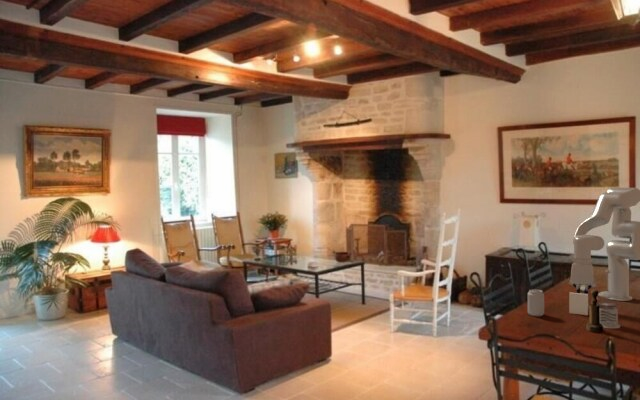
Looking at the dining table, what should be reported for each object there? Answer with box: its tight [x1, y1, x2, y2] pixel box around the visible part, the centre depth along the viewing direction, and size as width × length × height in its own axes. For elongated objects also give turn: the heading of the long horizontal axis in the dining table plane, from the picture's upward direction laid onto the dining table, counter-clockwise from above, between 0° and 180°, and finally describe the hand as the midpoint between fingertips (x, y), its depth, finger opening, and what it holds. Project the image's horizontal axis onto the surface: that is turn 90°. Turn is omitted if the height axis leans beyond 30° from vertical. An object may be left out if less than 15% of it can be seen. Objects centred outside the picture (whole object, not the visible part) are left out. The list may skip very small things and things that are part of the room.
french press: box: [590, 269, 621, 329], centre depth 228 cm, size 10×12×25 cm
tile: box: [568, 291, 589, 316], centre depth 247 cm, size 2×8×10 cm, turn 55°
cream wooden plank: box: [580, 284, 585, 294], centre depth 256 cm, size 16×2×4 cm, turn 144°
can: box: [527, 289, 545, 317], centre depth 247 cm, size 8×8×12 cm
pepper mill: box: [585, 288, 604, 333], centre depth 221 cm, size 7×6×18 cm
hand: (582, 297), depth 257 cm, fingers closed on cream wooden plank, 2 cm apart
